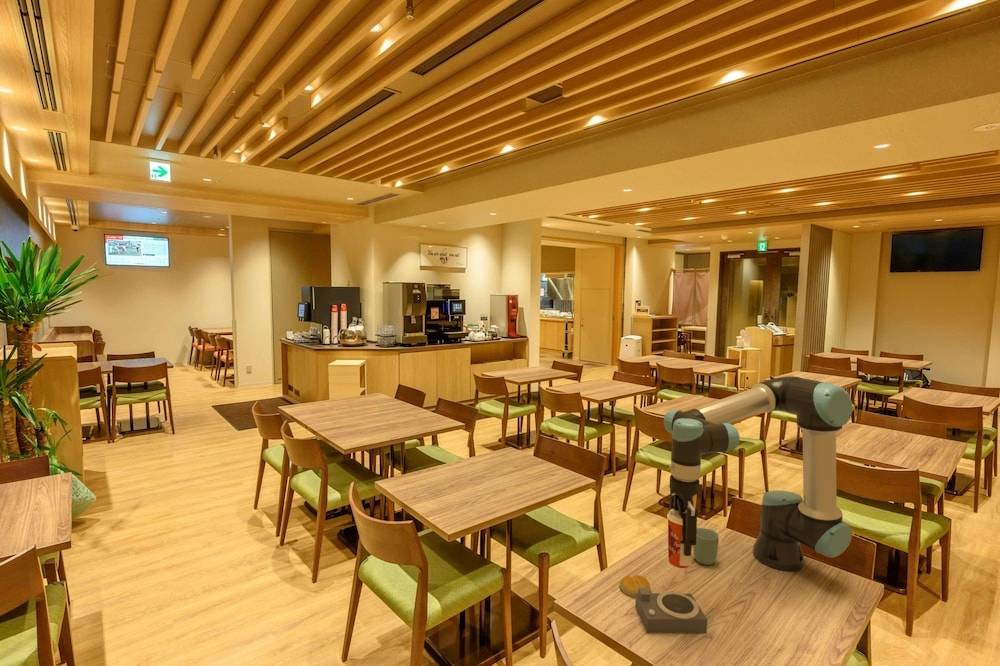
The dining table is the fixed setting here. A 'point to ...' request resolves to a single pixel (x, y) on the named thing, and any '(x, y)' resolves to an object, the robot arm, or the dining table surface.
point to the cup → (706, 546)
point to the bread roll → (634, 585)
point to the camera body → (670, 612)
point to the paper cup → (675, 537)
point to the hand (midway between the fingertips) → (679, 557)
